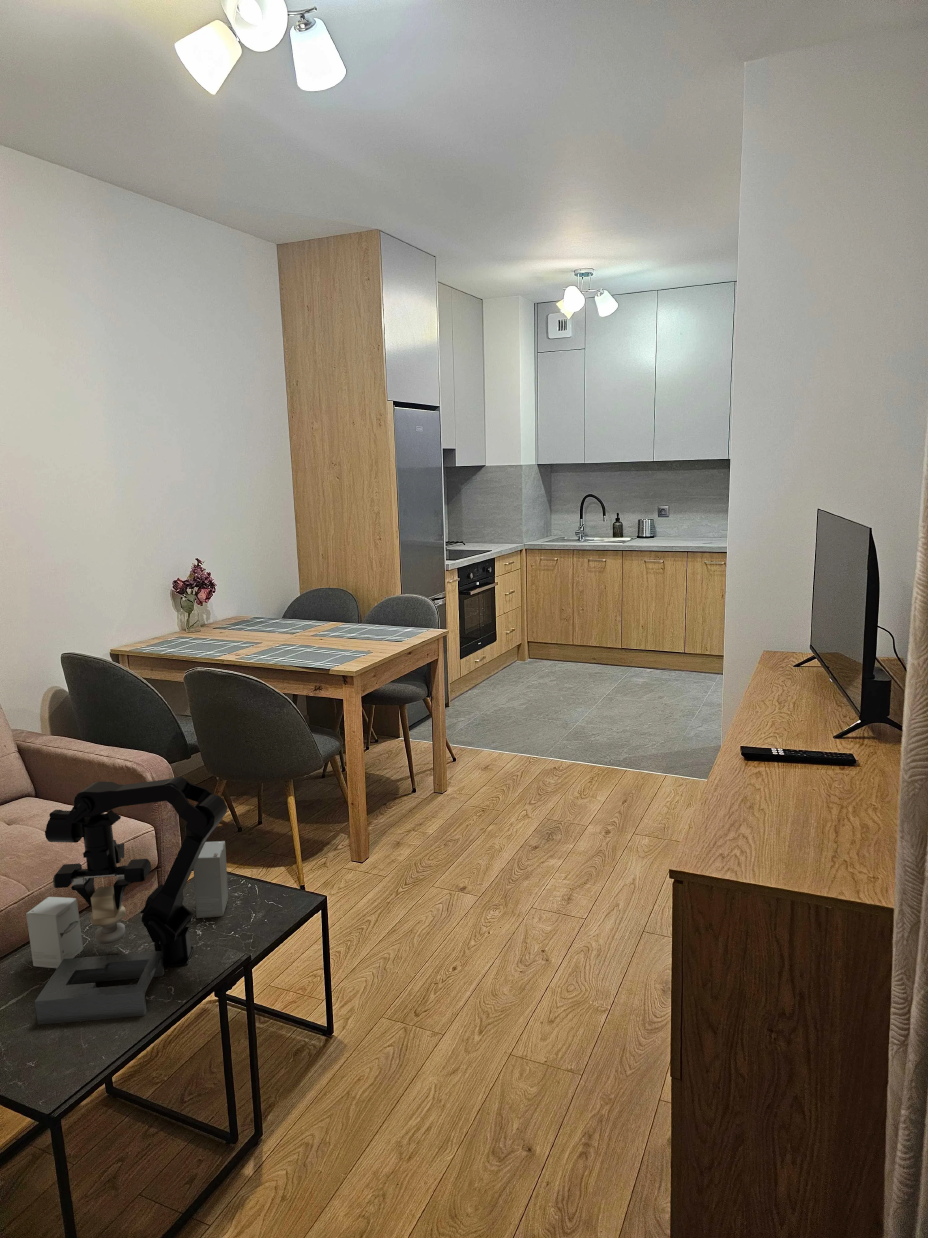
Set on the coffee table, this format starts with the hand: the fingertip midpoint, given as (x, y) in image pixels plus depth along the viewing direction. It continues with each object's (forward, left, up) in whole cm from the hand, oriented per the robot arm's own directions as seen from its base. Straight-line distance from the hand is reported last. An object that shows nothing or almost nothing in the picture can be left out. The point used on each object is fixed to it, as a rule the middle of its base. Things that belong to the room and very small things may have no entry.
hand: (107, 909), depth 179 cm
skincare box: (-18, -17, -11) cm, 27 cm away
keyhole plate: (-3, +15, -11) cm, 19 cm away
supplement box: (+12, -1, -11) cm, 17 cm away
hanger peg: (0, 0, -6) cm, 6 cm away
